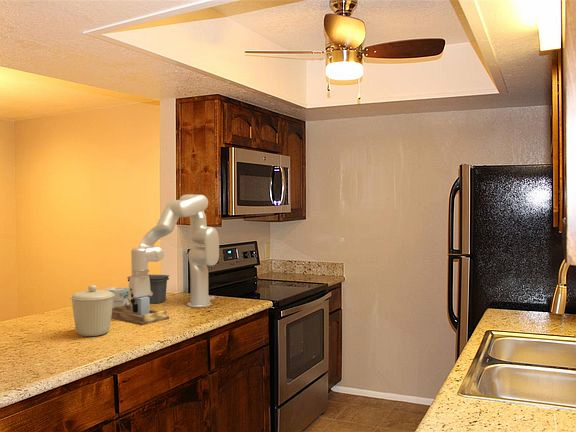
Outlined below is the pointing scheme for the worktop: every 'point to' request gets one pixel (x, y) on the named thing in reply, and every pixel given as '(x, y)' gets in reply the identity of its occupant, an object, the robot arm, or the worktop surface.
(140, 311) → the panel block
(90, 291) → the canister
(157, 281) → the storage bin
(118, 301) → the light bulb box
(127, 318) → the board
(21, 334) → the worktop surface
